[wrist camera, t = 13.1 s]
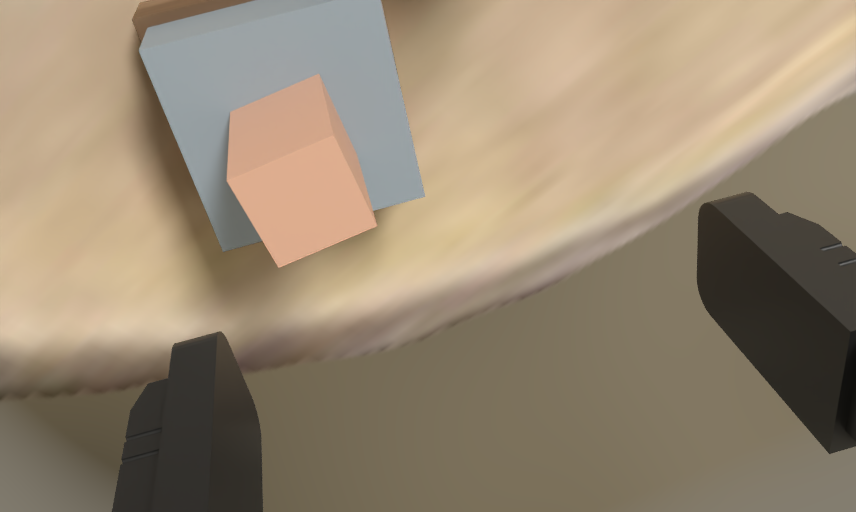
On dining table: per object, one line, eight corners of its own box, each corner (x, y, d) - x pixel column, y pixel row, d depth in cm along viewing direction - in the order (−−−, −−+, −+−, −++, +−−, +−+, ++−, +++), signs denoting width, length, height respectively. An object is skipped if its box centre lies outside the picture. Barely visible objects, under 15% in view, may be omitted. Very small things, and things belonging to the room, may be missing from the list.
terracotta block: (230, 111, 39) (226, 180, 33) (319, 73, 39) (333, 134, 32) (273, 189, 42) (278, 267, 35) (356, 154, 42) (377, 226, 35)
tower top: (147, 27, 40) (138, 50, 37) (367, -29, 41) (378, -11, 38) (224, 217, 47) (223, 251, 44) (412, 167, 48) (425, 196, 44)
